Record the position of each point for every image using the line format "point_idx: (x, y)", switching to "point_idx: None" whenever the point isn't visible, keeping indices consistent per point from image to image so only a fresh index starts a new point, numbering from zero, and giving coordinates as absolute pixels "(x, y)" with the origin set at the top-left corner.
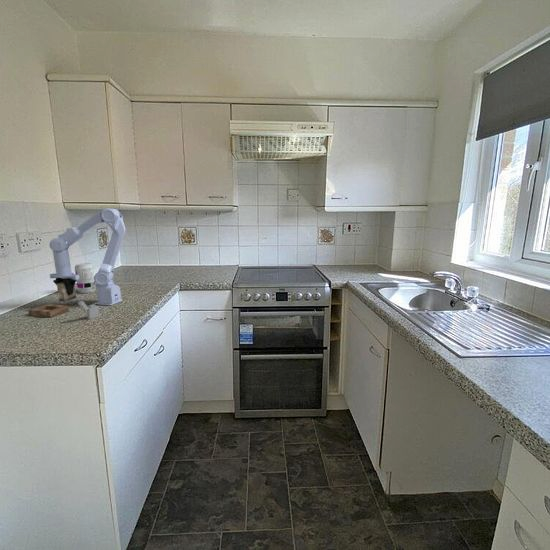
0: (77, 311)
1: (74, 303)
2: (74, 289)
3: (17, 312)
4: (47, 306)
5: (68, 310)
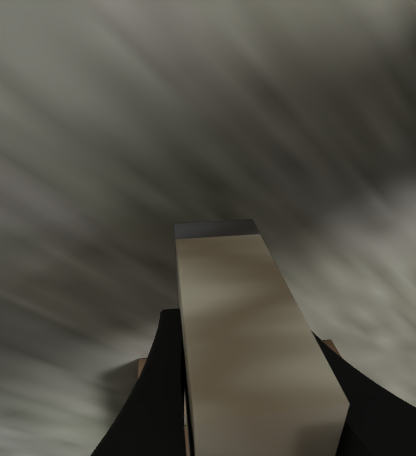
0: (391, 324)
1: (201, 192)
2: (285, 292)
3: (3, 449)
4: (184, 411)
5: (333, 347)
